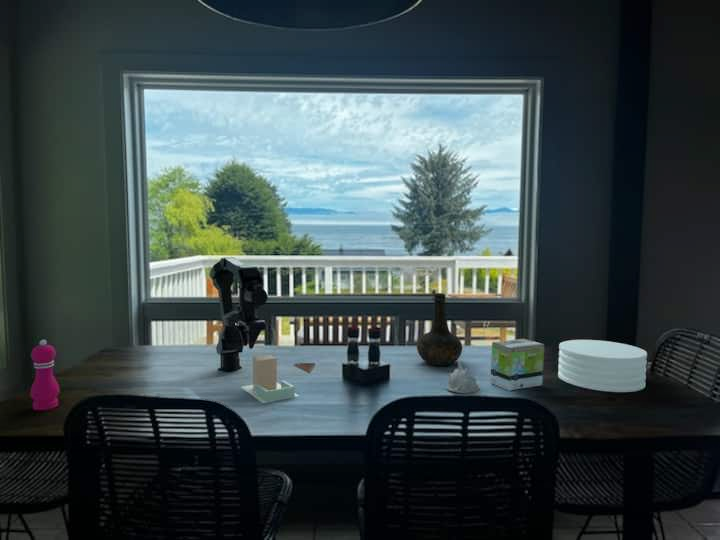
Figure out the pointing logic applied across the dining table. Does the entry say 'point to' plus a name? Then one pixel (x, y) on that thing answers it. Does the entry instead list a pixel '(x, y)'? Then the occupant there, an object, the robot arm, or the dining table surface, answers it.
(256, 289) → the robot arm
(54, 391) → the pepper mill
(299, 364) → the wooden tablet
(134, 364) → the dining table surface
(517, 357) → the tea box
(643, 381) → the plate stack
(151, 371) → the dining table surface
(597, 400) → the dining table surface
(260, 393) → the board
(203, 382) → the dining table surface
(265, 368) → the beige cardboard box
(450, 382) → the seashell
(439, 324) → the glass bottle
